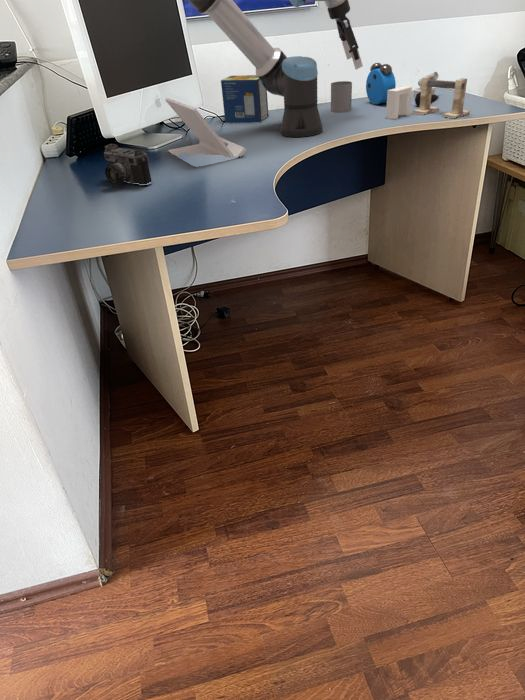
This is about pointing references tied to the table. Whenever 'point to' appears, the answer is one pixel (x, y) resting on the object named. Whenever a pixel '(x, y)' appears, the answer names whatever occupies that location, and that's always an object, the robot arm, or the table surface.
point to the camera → (126, 165)
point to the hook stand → (429, 83)
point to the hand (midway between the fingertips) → (354, 62)
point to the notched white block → (398, 102)
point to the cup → (341, 96)
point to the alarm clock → (379, 83)
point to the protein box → (244, 99)
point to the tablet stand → (202, 134)
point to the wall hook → (416, 91)
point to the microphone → (417, 98)
